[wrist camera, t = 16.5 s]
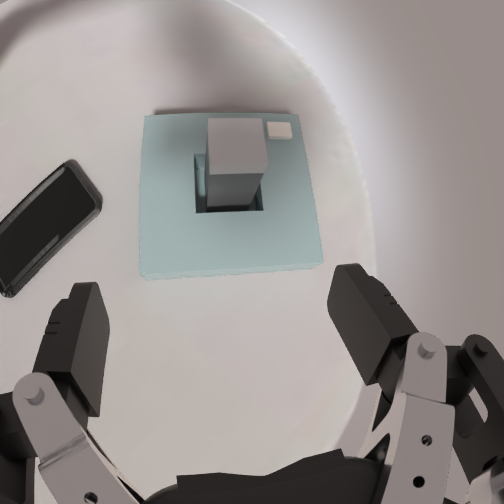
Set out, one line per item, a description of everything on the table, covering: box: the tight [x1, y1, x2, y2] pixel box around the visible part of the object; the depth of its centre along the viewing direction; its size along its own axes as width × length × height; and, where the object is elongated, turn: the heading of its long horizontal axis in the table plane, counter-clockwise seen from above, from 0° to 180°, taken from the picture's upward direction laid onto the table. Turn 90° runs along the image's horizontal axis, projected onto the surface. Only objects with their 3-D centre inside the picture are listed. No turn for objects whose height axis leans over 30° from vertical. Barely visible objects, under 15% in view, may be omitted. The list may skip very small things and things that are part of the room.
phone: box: [0, 162, 102, 298], centre depth 27 cm, size 8×1×15 cm
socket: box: [139, 112, 324, 280], centre depth 30 cm, size 16×16×4 cm
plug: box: [204, 118, 268, 213], centre depth 26 cm, size 4×4×10 cm
